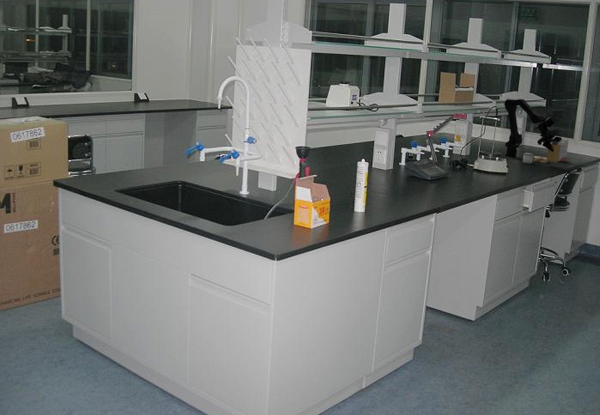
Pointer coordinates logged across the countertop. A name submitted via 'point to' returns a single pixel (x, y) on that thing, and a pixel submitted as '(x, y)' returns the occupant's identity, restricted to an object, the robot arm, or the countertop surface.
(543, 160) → the beech block
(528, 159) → the white jar
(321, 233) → the countertop surface
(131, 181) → the countertop surface
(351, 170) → the countertop surface
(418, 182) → the countertop surface
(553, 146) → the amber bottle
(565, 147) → the ink cartridge box
